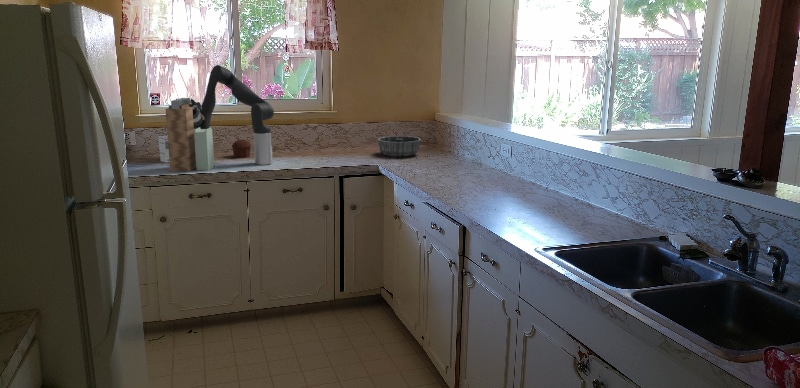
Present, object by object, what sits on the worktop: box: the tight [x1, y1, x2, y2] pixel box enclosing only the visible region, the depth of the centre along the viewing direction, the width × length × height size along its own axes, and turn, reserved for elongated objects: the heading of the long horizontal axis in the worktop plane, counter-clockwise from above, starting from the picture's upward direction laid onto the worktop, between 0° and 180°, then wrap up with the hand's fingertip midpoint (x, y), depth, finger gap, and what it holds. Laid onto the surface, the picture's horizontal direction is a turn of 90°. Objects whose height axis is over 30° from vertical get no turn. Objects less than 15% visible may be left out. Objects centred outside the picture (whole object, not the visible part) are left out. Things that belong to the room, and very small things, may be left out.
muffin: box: [231, 138, 252, 159], centre depth 355 cm, size 12×11×10 cm
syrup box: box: [157, 134, 170, 163], centre depth 337 cm, size 6×6×14 cm
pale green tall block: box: [194, 126, 215, 171], centre depth 318 cm, size 6×12×21 cm, turn 3°
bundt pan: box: [376, 135, 422, 158], centre depth 368 cm, size 26×26×10 cm
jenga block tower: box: [165, 104, 197, 172], centre depth 314 cm, size 10×12×34 cm
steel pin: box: [170, 97, 191, 109], centre depth 314 cm, size 4×20×4 cm, turn 3°
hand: (183, 100), depth 319 cm, fingers open, 7 cm apart
